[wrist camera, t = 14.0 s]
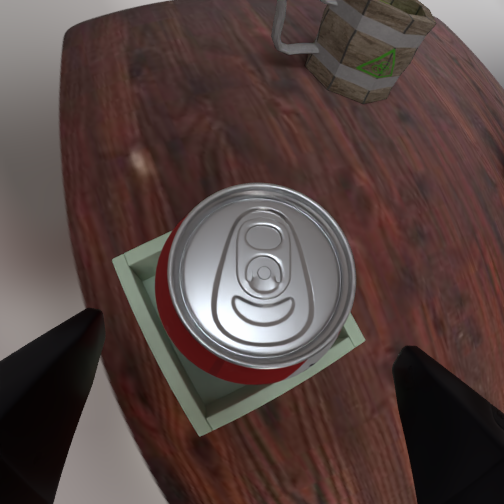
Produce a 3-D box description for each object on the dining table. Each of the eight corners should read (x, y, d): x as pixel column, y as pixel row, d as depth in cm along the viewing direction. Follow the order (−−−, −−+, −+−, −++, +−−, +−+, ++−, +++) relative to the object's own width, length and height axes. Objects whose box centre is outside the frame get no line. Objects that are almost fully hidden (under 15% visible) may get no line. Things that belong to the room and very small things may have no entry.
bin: (200, 418, 18) (199, 437, 14) (129, 278, 20) (110, 258, 16) (334, 343, 21) (365, 340, 17) (263, 216, 23) (276, 185, 19)
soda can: (176, 365, 19) (138, 387, 7) (181, 263, 21) (160, 159, 9) (282, 367, 19) (378, 382, 8) (281, 267, 22) (361, 178, 10)
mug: (370, 53, 33) (406, -13, 22) (402, 110, 30) (455, 38, 19) (254, 37, 30) (273, -48, 19) (269, 95, 27) (300, -10, 16)
